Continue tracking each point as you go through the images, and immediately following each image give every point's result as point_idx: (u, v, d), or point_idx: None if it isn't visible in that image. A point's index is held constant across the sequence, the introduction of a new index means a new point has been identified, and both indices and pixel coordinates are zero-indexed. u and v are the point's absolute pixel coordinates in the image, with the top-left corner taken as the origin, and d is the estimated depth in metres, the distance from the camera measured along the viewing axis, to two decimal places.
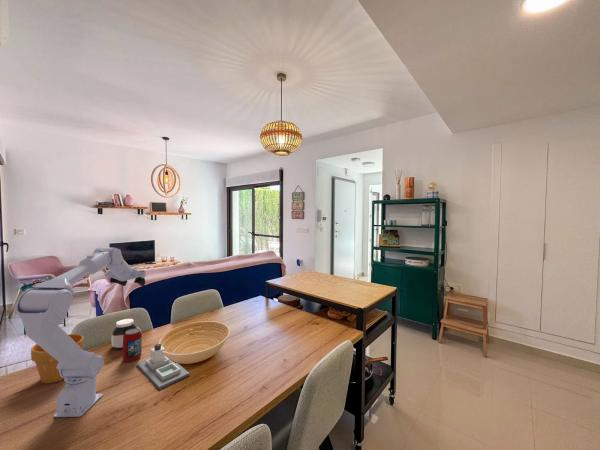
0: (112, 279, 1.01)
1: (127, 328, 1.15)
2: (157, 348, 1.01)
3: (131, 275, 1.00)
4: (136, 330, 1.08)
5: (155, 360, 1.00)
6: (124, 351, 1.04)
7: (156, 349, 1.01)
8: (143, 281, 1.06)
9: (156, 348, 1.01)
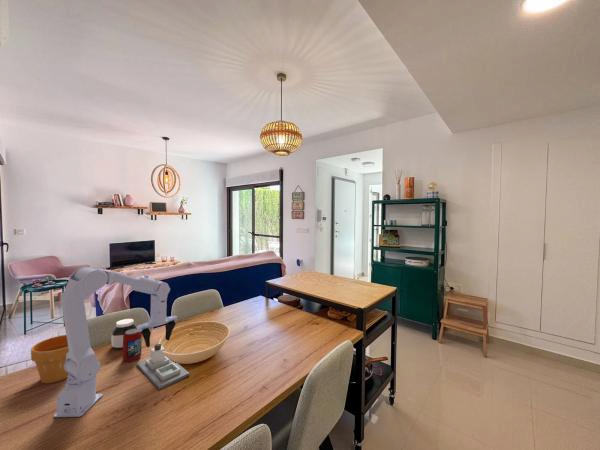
0: (145, 331, 0.97)
1: (127, 328, 1.15)
2: (157, 348, 1.01)
3: (166, 319, 1.04)
4: (136, 330, 1.08)
5: (155, 360, 1.00)
6: (124, 351, 1.04)
7: (156, 349, 1.01)
8: None
9: (156, 348, 1.01)
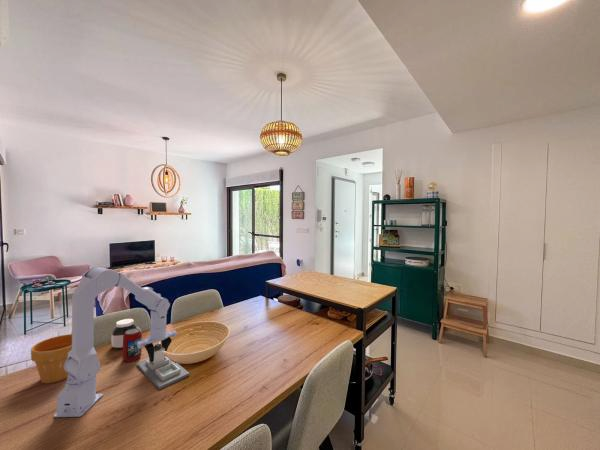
0: (149, 346, 0.99)
1: (127, 328, 1.15)
2: (157, 348, 1.01)
3: (166, 334, 1.04)
4: (136, 330, 1.08)
5: (155, 360, 1.00)
6: (124, 351, 1.04)
7: (156, 349, 1.01)
8: None
9: (156, 348, 1.01)
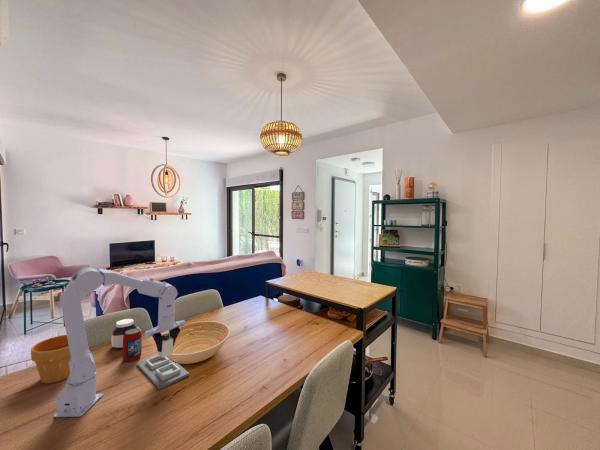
0: (157, 336, 0.94)
1: (127, 328, 1.15)
2: (165, 338, 0.97)
3: (174, 324, 0.99)
4: (136, 330, 1.08)
5: (163, 350, 0.95)
6: (124, 351, 1.04)
7: (164, 339, 0.97)
8: None
9: (164, 338, 0.97)
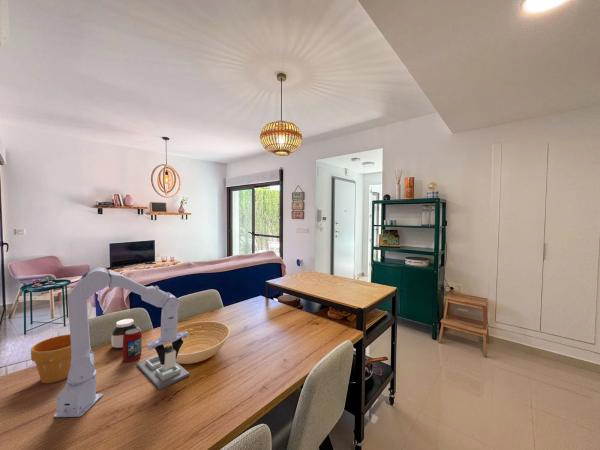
0: (160, 348, 0.92)
1: (127, 328, 1.15)
2: (168, 350, 0.95)
3: (177, 335, 0.98)
4: (136, 330, 1.08)
5: (165, 363, 0.94)
6: (124, 351, 1.04)
7: (167, 351, 0.95)
8: None
9: (167, 350, 0.95)
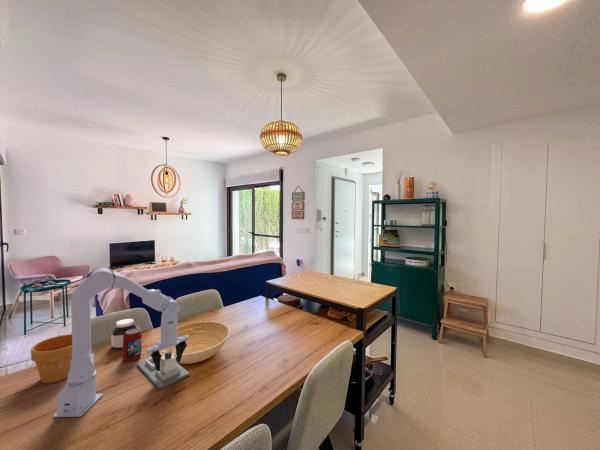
0: (155, 355, 0.91)
1: (127, 328, 1.15)
2: (167, 357, 0.95)
3: (177, 340, 0.98)
4: (136, 330, 1.08)
5: (165, 370, 0.94)
6: (124, 351, 1.04)
7: (166, 358, 0.95)
8: None
9: (166, 357, 0.95)
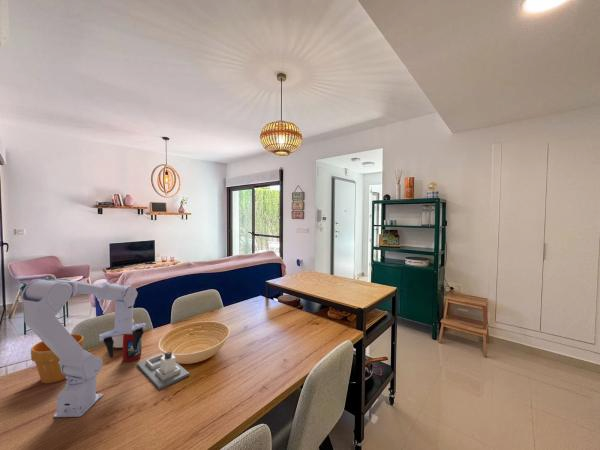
0: (107, 341, 0.89)
1: None
2: (167, 357, 0.95)
3: (133, 327, 0.96)
4: None
5: (165, 370, 0.94)
6: (124, 351, 1.04)
7: (166, 358, 0.95)
8: None
9: (166, 357, 0.95)
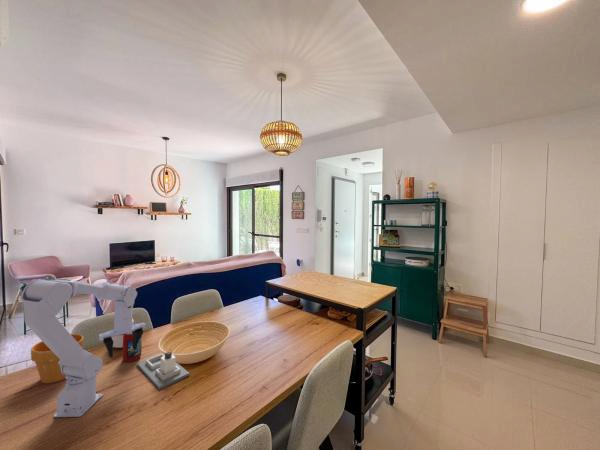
0: (107, 341, 0.89)
1: None
2: (167, 357, 0.95)
3: (132, 327, 0.96)
4: None
5: (165, 370, 0.94)
6: (124, 351, 1.04)
7: (166, 358, 0.95)
8: None
9: (166, 357, 0.95)
